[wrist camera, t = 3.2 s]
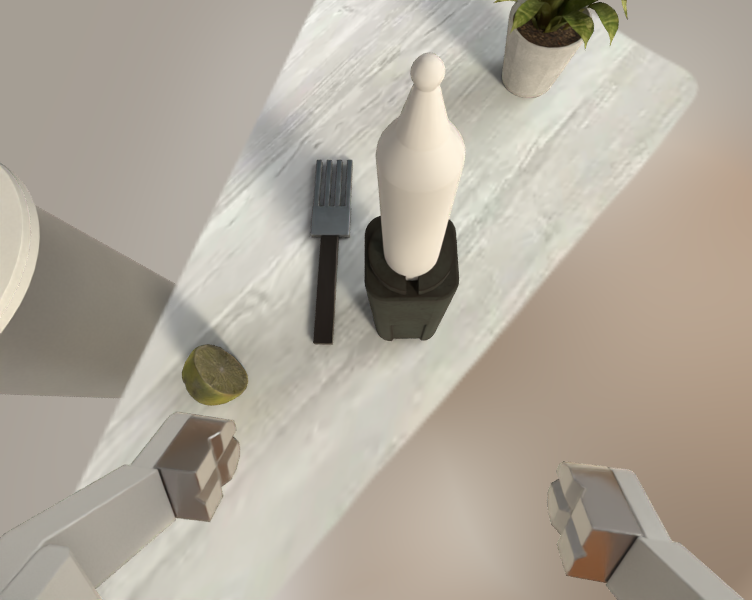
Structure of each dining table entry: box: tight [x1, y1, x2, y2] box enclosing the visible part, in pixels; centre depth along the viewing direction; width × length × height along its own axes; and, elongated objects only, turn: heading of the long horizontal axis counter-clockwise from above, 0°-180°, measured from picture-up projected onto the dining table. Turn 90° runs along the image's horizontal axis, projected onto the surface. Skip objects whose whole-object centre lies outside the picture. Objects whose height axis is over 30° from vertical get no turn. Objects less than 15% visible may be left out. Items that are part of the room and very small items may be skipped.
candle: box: [365, 53, 465, 341], centre depth 21 cm, size 5×5×25 cm
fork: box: [310, 160, 353, 345], centre depth 35 cm, size 4×18×1 cm, turn 179°
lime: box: [182, 344, 248, 406], centre depth 30 cm, size 4×5×5 cm
